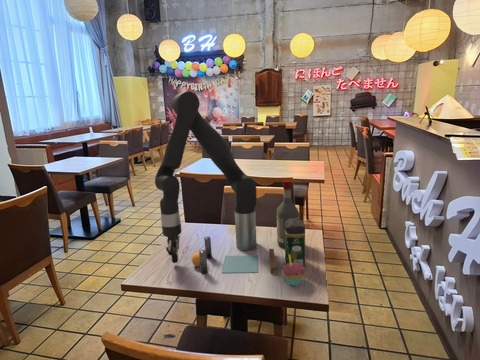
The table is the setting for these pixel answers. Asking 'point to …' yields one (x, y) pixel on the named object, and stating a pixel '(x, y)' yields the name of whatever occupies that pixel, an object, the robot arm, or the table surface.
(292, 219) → the coffee jar
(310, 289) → the table surface
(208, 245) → the post
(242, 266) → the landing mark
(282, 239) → the liquor
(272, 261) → the stopper wall
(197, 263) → the ball
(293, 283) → the cupcake
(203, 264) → the post
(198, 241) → the table surface
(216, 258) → the table surface
